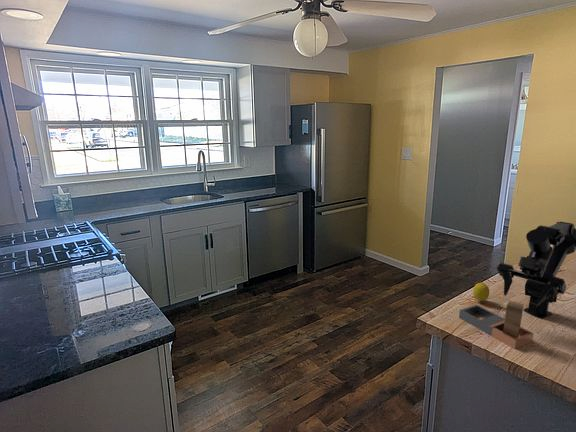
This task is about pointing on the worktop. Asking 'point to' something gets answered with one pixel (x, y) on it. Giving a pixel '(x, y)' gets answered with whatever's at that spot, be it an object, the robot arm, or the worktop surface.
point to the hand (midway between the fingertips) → (520, 300)
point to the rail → (494, 326)
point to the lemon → (481, 291)
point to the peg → (513, 318)
